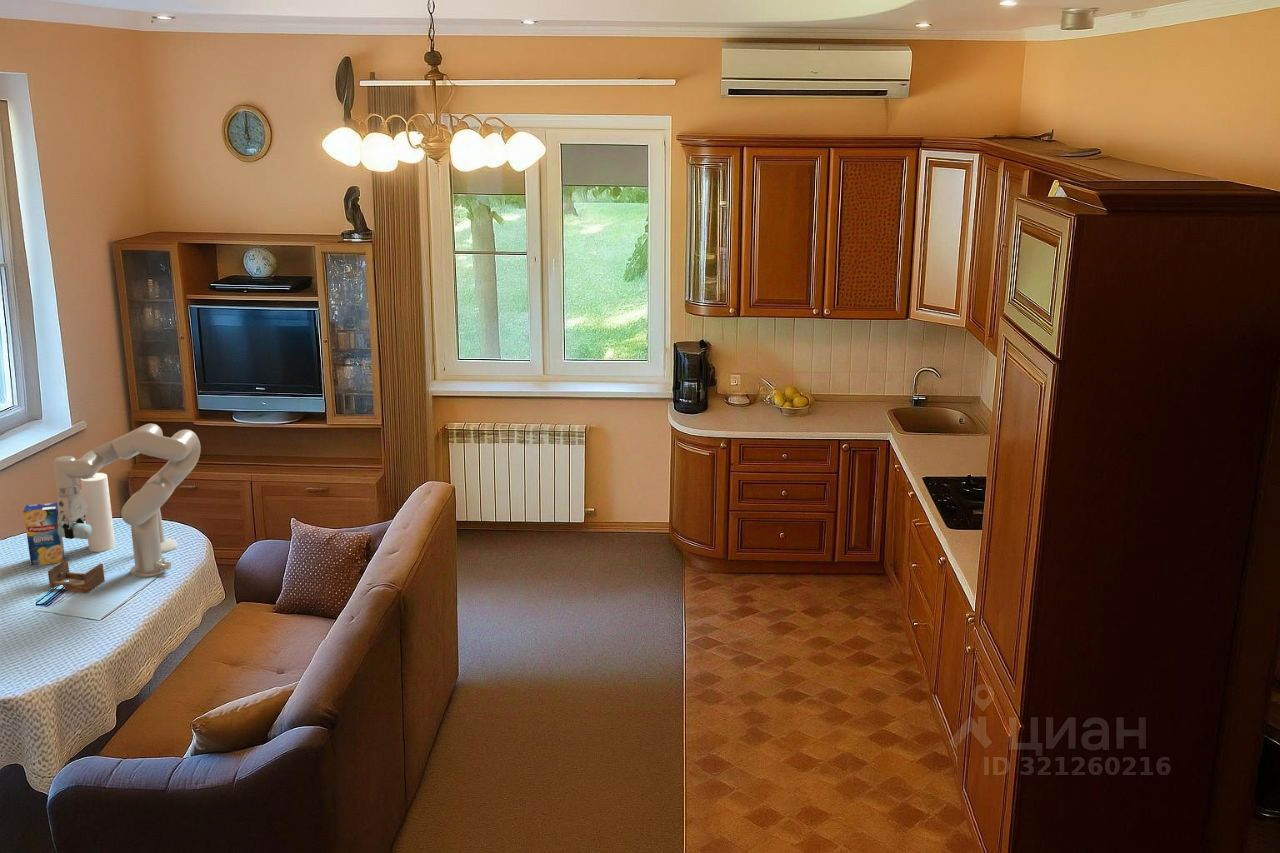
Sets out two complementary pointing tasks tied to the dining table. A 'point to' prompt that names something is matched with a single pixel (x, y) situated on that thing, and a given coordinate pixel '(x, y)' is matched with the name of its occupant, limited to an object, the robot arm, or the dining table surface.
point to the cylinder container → (98, 512)
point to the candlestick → (165, 542)
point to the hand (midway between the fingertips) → (75, 534)
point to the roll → (77, 530)
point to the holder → (75, 578)
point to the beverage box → (43, 534)
